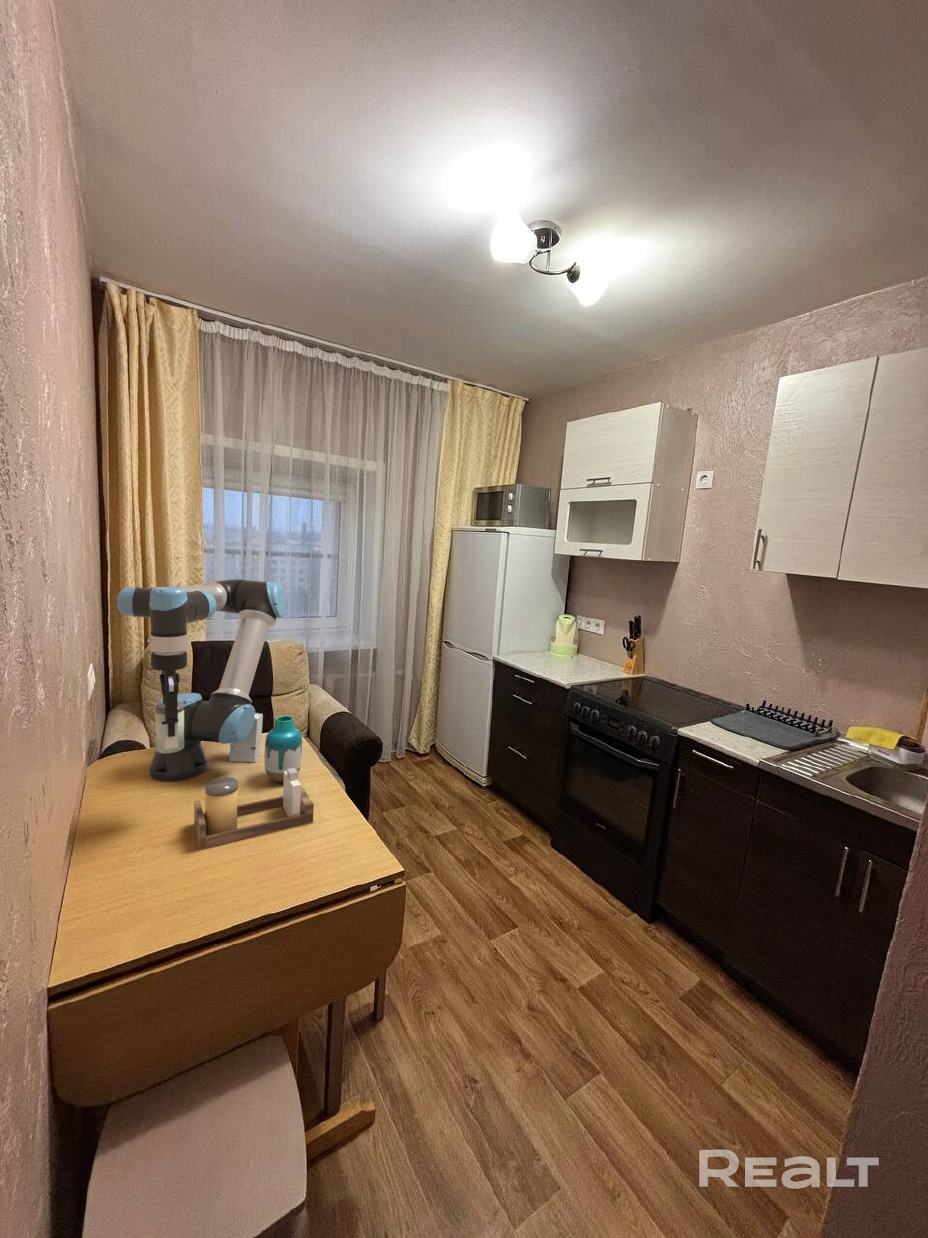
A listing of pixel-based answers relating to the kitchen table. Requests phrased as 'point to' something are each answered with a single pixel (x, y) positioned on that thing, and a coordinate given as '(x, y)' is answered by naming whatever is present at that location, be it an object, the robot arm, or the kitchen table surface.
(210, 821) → the amber jar
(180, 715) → the sage jar
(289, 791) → the plate
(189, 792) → the kitchen table surface
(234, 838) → the wooden spice rack
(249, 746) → the skincare box
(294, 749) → the vase
